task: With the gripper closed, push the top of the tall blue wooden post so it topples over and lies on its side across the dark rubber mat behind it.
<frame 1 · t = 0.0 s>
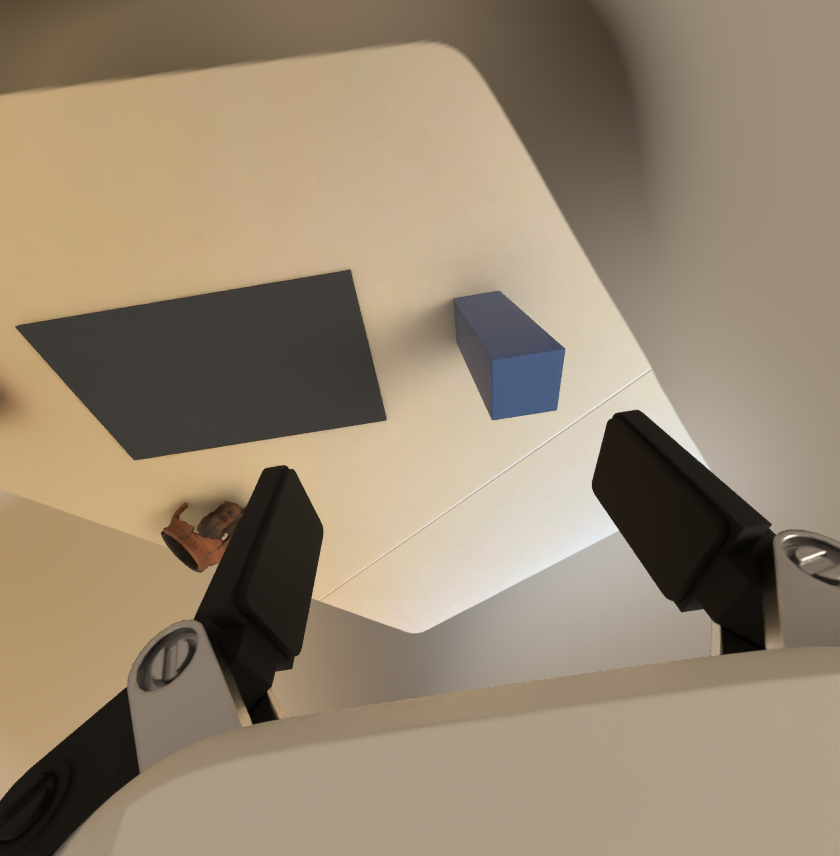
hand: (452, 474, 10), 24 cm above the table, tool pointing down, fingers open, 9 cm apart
blue post: (477, 317, 32), on the table
brown broken pot: (224, 510, 45), on the table
rubber mat: (227, 378, 33), on the table
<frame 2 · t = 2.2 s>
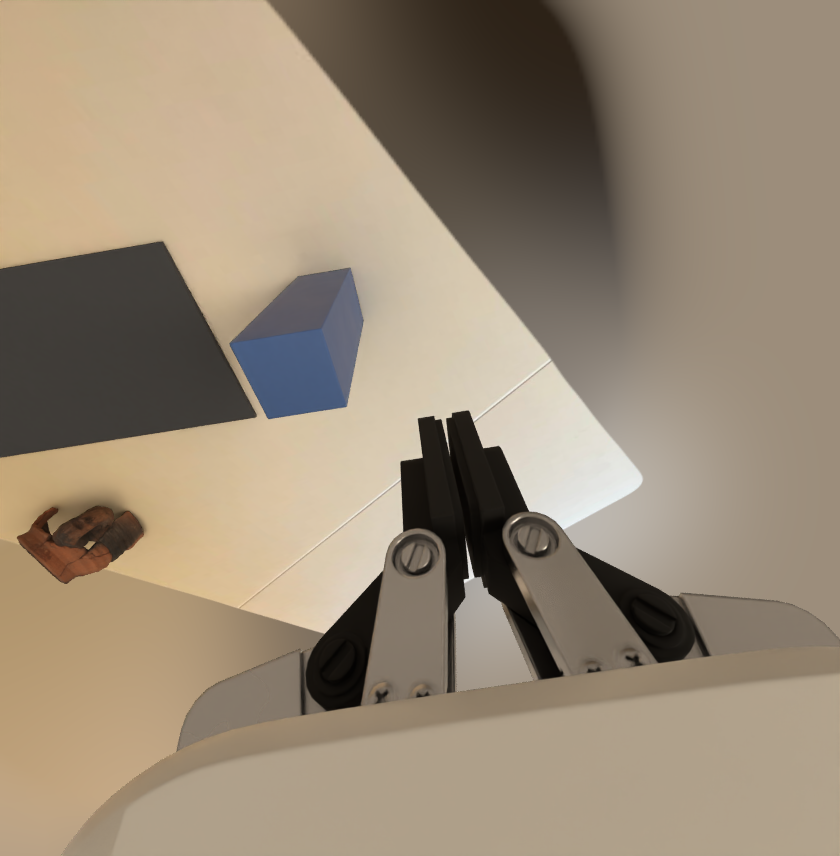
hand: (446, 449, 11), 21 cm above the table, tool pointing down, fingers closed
blue post: (332, 299, 27), on the table
brown broken pot: (102, 515, 41), on the table
rubber mat: (56, 369, 29), on the table
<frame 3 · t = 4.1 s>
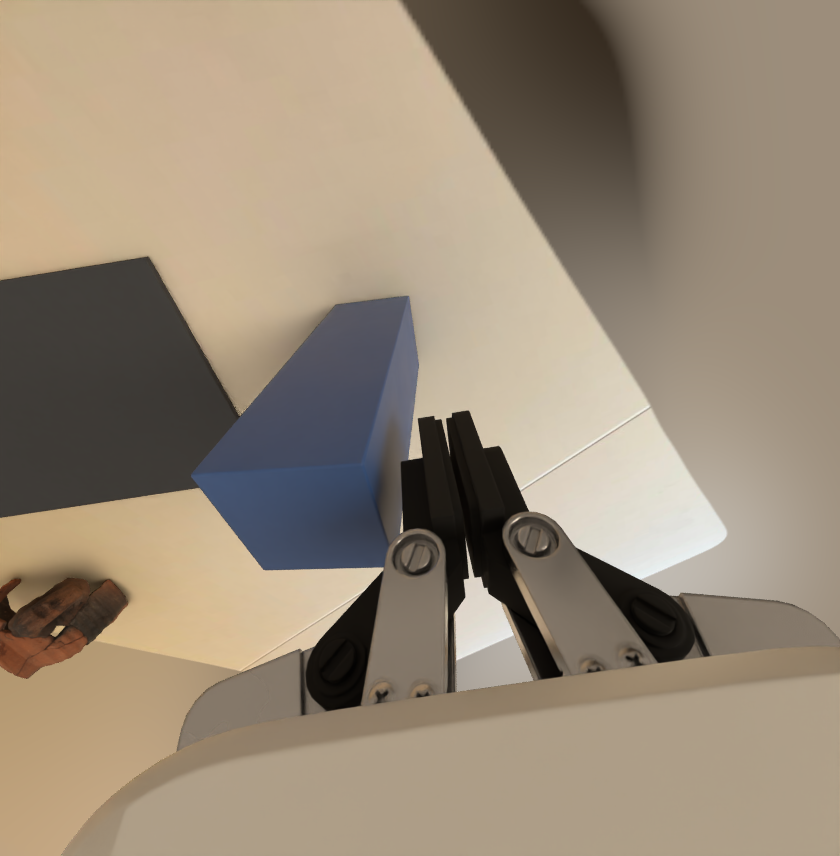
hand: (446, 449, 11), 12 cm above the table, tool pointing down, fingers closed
blue post: (379, 336, 20), on the table, tilted 7°, touching gripper
brown broken pot: (77, 583, 33), on the table
rubber mat: (6, 422, 22), on the table
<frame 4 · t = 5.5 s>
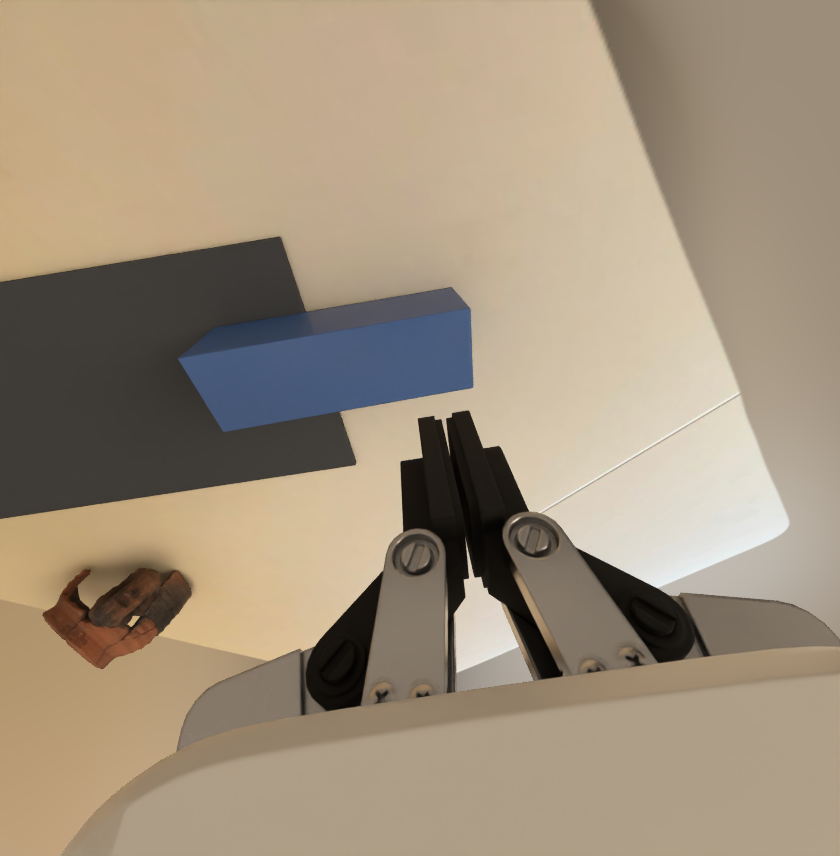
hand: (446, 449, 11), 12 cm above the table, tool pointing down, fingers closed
blue post: (462, 336, 18), point 2 cm above the table, tilted 87°, touching rubber mat
brown broken pot: (144, 575, 33), on the table
rubber mat: (107, 408, 22), on the table
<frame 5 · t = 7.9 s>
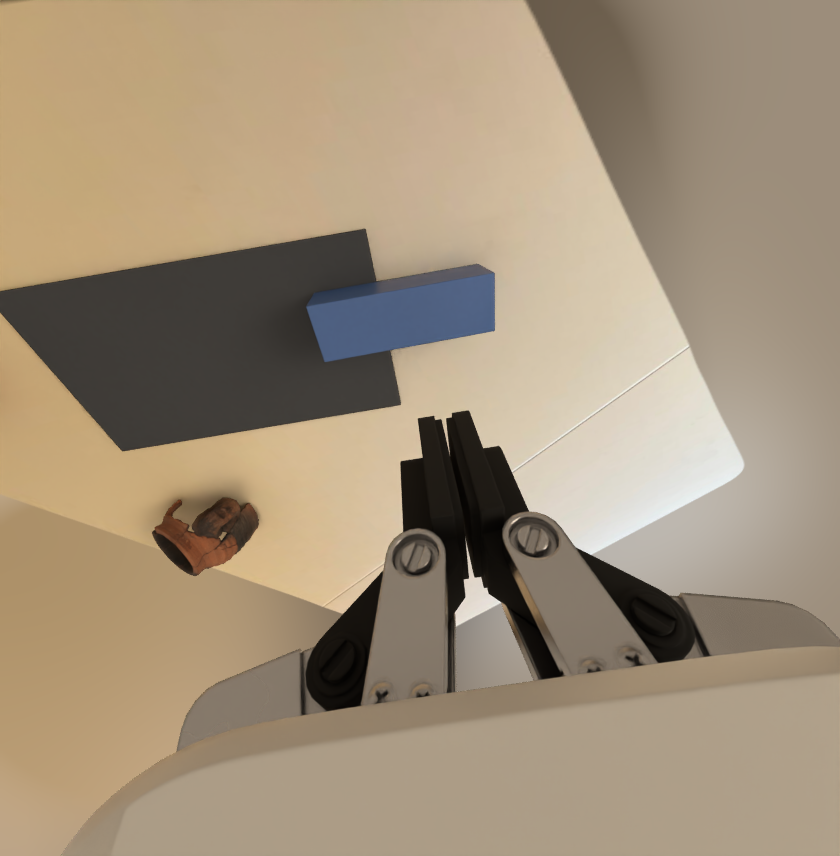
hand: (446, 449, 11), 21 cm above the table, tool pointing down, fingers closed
blue post: (486, 296, 27), point 2 cm above the table, tilted 87°, touching rubber mat
brown broken pot: (221, 508, 41), on the table
rubber mat: (226, 356, 30), on the table
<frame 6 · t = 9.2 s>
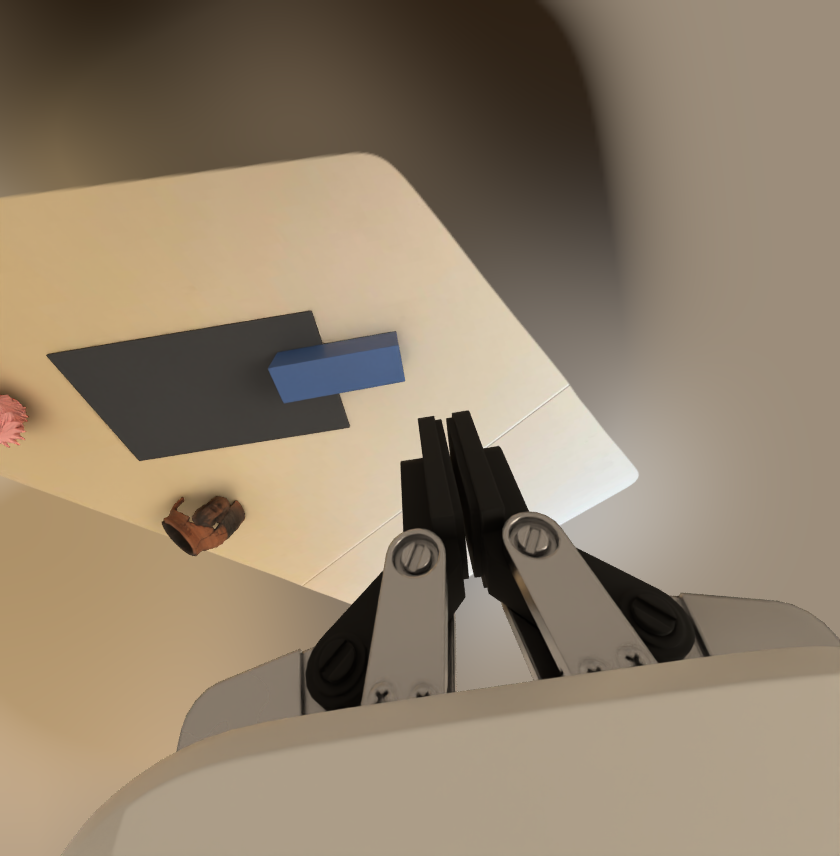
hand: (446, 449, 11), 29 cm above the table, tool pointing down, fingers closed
blue post: (400, 355, 37), point 2 cm above the table, tilted 87°, touching rubber mat
pink coral piece: (11, 403, 40), on the table
brown broken pot: (215, 504, 52), on the table
rubber mat: (215, 393, 41), on the table
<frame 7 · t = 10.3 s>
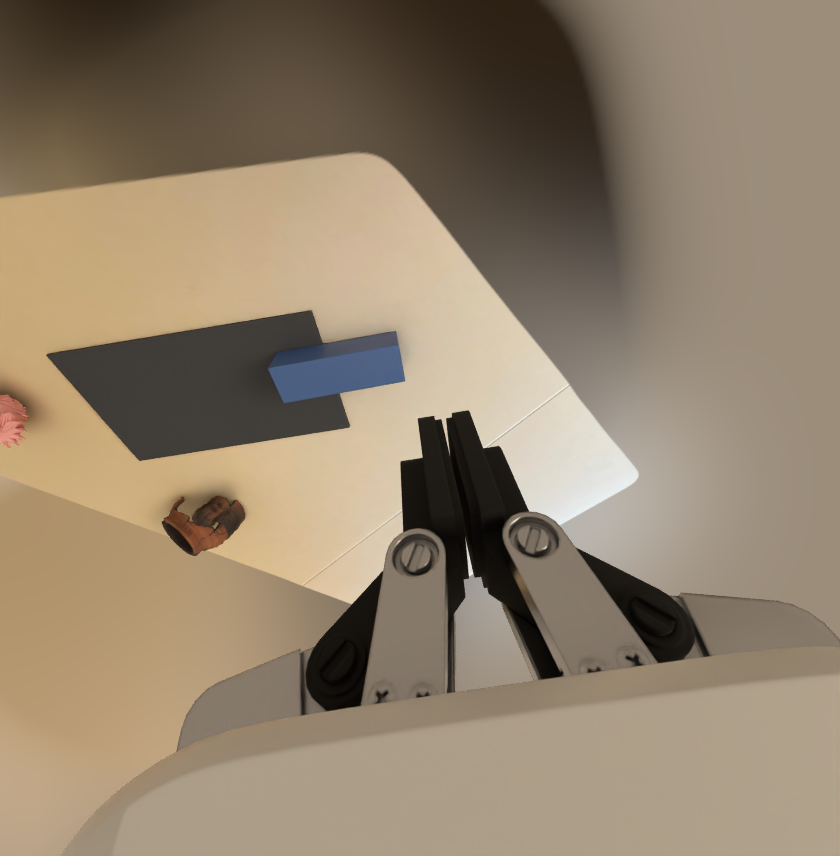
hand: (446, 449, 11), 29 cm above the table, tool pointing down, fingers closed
blue post: (400, 355, 37), point 2 cm above the table, tilted 87°, touching rubber mat
pink coral piece: (12, 402, 40), on the table
brown broken pot: (215, 503, 52), on the table
rubber mat: (215, 393, 41), on the table
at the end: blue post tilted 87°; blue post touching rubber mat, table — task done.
